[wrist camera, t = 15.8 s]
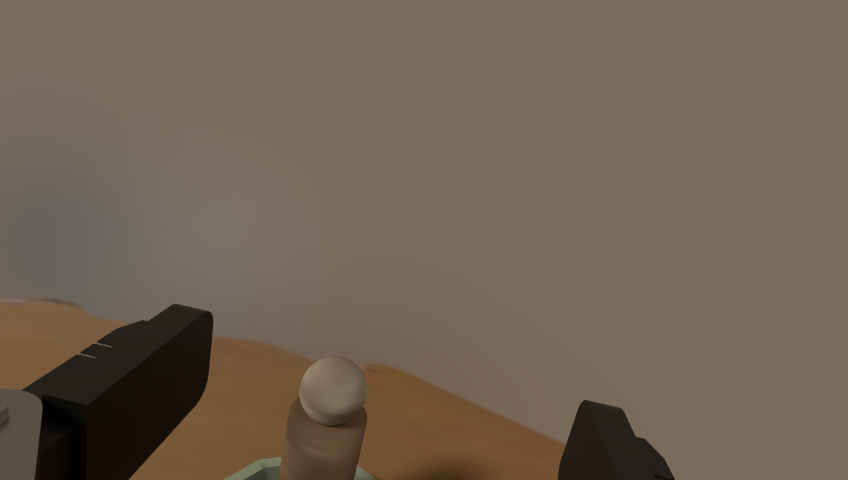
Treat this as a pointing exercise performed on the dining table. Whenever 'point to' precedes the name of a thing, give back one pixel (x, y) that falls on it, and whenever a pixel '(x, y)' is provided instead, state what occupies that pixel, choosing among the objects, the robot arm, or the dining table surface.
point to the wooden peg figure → (326, 423)
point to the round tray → (277, 471)
